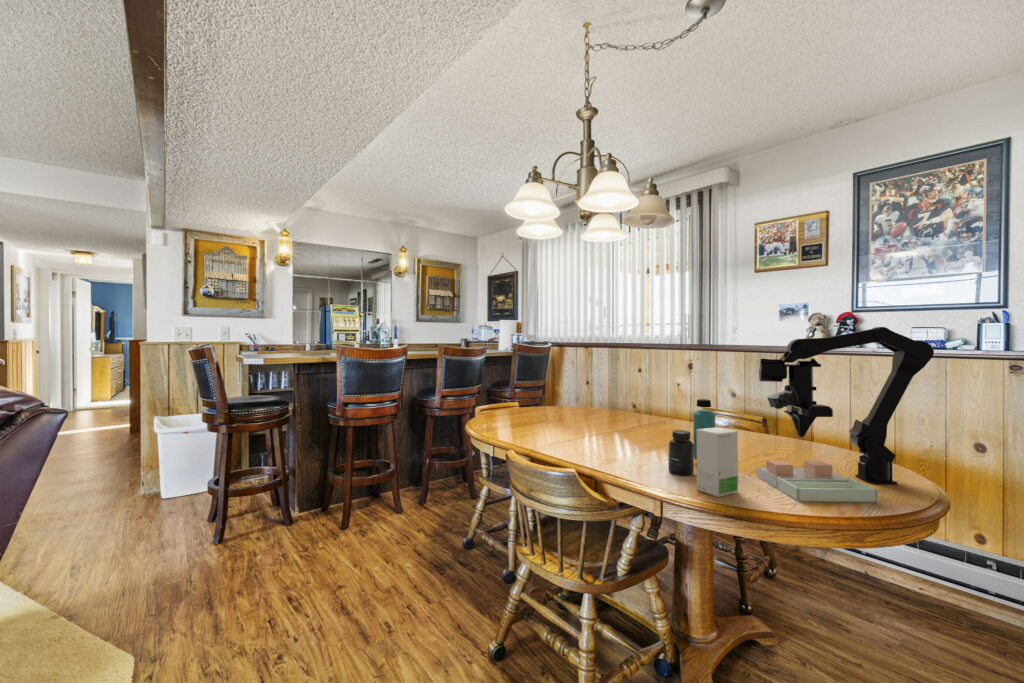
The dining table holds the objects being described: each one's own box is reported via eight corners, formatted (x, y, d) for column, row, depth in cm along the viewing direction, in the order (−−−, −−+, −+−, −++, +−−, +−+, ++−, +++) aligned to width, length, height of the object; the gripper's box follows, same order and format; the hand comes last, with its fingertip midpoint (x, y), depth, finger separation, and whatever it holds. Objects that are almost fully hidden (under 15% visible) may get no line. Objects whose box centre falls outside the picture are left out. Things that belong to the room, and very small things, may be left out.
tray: (850, 489, 110) (850, 477, 110) (877, 502, 101) (877, 489, 101) (777, 488, 111) (777, 477, 111) (797, 501, 102) (797, 488, 102)
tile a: (821, 469, 118) (821, 460, 118) (832, 474, 114) (832, 465, 114) (804, 469, 119) (804, 460, 119) (814, 474, 114) (814, 465, 114)
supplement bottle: (668, 474, 123) (667, 432, 123) (669, 468, 129) (668, 428, 129) (694, 477, 120) (693, 434, 120) (693, 470, 127) (693, 429, 127)
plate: (823, 476, 120) (823, 468, 120) (849, 489, 110) (849, 479, 110) (756, 476, 121) (756, 467, 121) (776, 488, 111) (776, 478, 111)
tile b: (783, 469, 119) (783, 460, 119) (793, 474, 114) (793, 465, 114) (766, 469, 119) (766, 460, 119) (775, 474, 115) (775, 464, 115)
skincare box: (717, 498, 105) (717, 433, 105) (694, 489, 111) (694, 429, 110) (739, 492, 109) (739, 430, 108) (716, 484, 114) (716, 425, 114)
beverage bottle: (718, 467, 129) (718, 401, 129) (695, 466, 131) (694, 400, 131) (713, 461, 136) (712, 398, 136) (690, 460, 137) (690, 397, 137)
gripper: (755, 379, 133) (755, 430, 133) (790, 385, 115) (791, 444, 115) (792, 379, 133) (792, 430, 133) (834, 385, 114) (834, 444, 114)
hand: (801, 436), depth 124 cm, fingers closed
